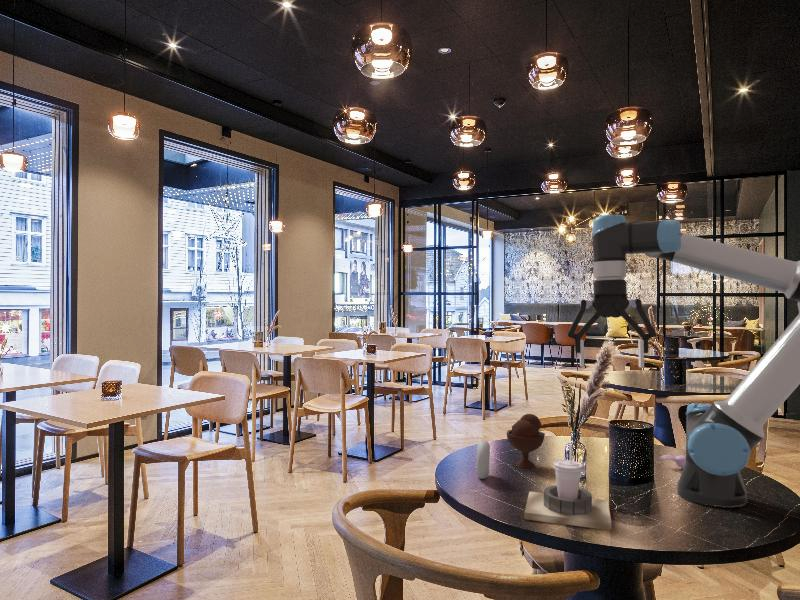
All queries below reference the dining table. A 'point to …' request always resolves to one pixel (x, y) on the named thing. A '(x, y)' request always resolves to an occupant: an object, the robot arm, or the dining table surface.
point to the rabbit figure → (676, 459)
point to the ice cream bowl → (526, 438)
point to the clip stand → (568, 509)
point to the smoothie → (568, 477)
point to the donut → (483, 459)
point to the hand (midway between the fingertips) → (611, 366)
